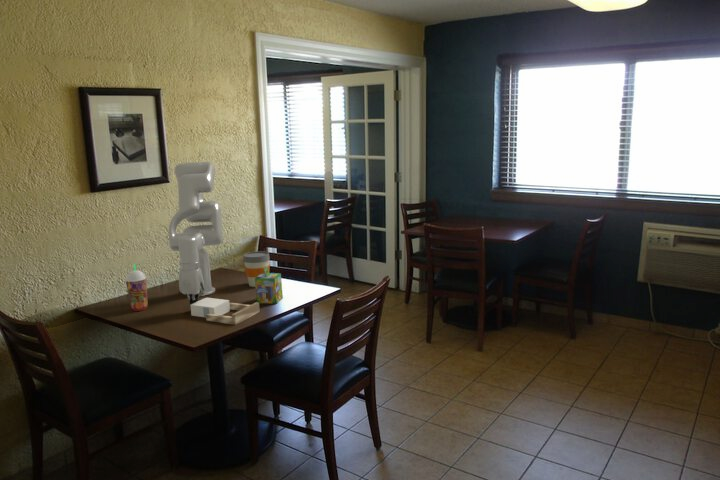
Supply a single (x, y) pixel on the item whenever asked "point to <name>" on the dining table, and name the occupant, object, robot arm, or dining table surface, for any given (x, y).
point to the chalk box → (268, 287)
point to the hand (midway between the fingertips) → (194, 308)
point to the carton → (210, 307)
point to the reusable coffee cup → (255, 265)
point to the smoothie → (137, 290)
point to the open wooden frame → (241, 315)
